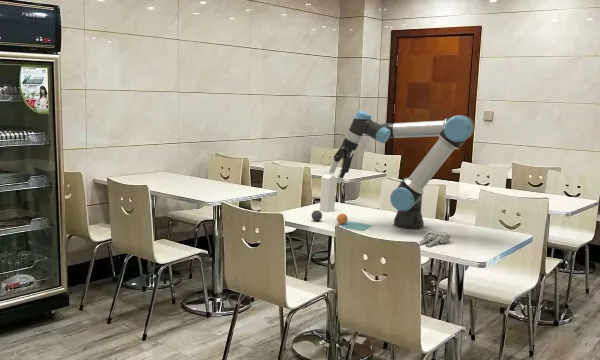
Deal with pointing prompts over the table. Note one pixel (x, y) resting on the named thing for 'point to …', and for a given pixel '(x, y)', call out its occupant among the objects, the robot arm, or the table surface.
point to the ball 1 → (316, 215)
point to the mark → (356, 225)
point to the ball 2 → (342, 218)
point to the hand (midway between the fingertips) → (334, 177)
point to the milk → (327, 192)
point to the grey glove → (435, 238)
